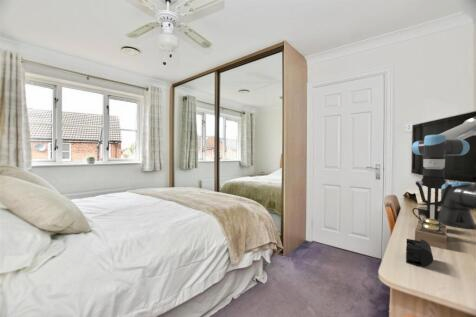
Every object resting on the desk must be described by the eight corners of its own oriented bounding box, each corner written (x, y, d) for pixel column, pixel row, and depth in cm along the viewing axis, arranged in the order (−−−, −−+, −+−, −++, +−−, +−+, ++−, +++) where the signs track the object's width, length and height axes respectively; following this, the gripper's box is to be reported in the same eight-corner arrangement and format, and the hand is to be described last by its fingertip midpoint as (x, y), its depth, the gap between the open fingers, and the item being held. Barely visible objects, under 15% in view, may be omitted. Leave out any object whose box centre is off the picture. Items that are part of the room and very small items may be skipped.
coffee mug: (443, 231, 110) (444, 211, 110) (423, 230, 112) (424, 210, 112) (428, 223, 122) (428, 205, 121) (410, 222, 123) (411, 204, 123)
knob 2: (423, 228, 100) (423, 222, 100) (438, 230, 96) (438, 225, 96) (422, 230, 96) (423, 225, 96) (438, 233, 93) (438, 228, 93)
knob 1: (424, 222, 108) (424, 217, 108) (438, 224, 104) (438, 219, 104) (424, 224, 104) (424, 219, 104) (438, 227, 101) (438, 222, 101)
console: (418, 230, 111) (418, 218, 111) (445, 235, 104) (446, 222, 104) (414, 242, 96) (415, 228, 96) (446, 249, 90) (446, 234, 89)
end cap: (432, 270, 74) (433, 250, 73) (406, 263, 78) (406, 244, 78) (430, 259, 81) (431, 240, 81) (406, 253, 86) (406, 236, 86)
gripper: (415, 167, 105) (413, 217, 106) (453, 169, 96) (451, 223, 97) (416, 167, 111) (415, 214, 111) (452, 168, 102) (451, 219, 103)
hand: (432, 218), depth 104 cm, fingers closed
